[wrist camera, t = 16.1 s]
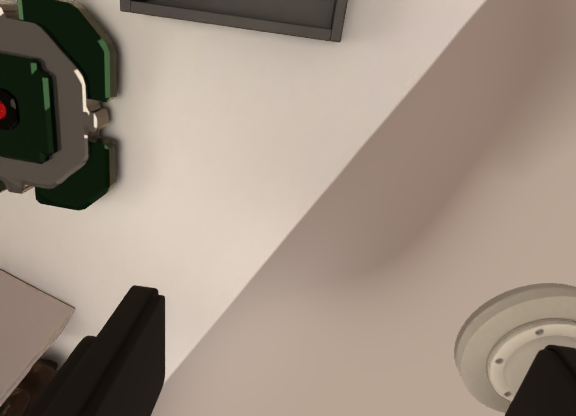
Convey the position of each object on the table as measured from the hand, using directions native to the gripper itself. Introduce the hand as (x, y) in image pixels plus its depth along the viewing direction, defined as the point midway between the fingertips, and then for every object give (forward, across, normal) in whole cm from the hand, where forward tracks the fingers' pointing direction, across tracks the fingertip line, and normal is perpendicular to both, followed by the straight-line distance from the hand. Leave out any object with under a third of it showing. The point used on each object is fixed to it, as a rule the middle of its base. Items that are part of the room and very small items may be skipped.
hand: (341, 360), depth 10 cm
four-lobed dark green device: (+28, +27, +2) cm, 39 cm away
